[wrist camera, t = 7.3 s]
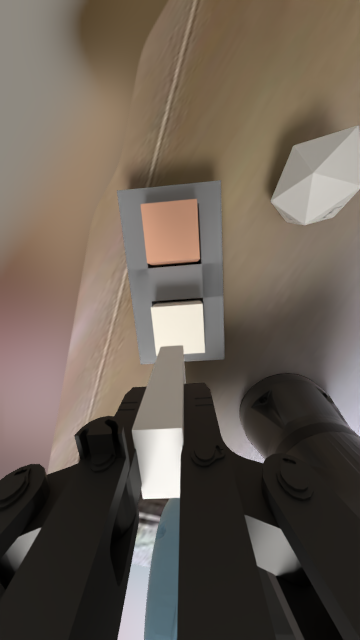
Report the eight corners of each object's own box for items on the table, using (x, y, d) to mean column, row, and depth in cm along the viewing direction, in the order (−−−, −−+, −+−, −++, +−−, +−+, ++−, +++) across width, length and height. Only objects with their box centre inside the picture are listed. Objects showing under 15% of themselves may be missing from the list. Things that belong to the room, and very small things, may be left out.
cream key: (199, 299, 25) (202, 303, 20) (201, 339, 26) (205, 352, 21) (157, 302, 25) (150, 307, 20) (161, 341, 26) (156, 355, 21)
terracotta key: (194, 216, 23) (196, 198, 18) (196, 263, 24) (199, 258, 19) (149, 220, 23) (140, 204, 18) (154, 266, 25) (147, 263, 20)
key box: (214, 198, 24) (220, 180, 20) (218, 347, 29) (224, 359, 24) (128, 206, 24) (116, 190, 20) (147, 351, 29) (140, 364, 25)
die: (250, 223, 25) (314, 241, 18) (265, 139, 19) (365, 119, 13) (291, 214, 27) (361, 226, 21) (315, 135, 22) (423, 117, 15)
